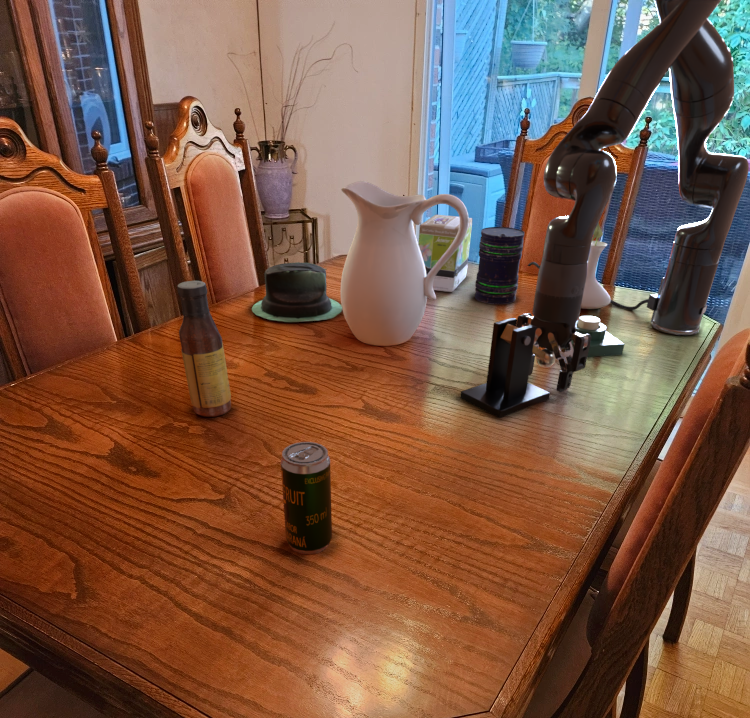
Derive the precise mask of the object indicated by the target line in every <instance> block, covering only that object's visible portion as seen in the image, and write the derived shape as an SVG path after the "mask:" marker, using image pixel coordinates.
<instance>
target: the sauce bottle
mask: <svg viewBox="0 0 750 718" xmlns="http://www.w3.org/2000/svg"><path fill="white" fill-rule="evenodd" d="M176 287H177V294H178V296H179V297H180V302H181V307H182V308H181V309H182V316H183V317H182V323H181V325H180V328H179V330H178V336H179V341H180V347H181V348H180V349H181V351H180V352H181V357H182V361H183V366H184V372H185V377H186V383H187V387H188V388H187V389H188V394H189V398H190V403H191V405H192V409H193V412H194V413H195V414H196V415H198V416H201V417H204V418H214V417H220V416H222V415H225V414H226V413H229V411H230V410H231V409H232V393H231V387H230V386H231V385H230V380H229V374H228V368H227V367H228V366H227V361H226V356H225V347H224V341H223V338H222V335H221V333H220V331H219V329H218V327H217V325H216V322H215V320H214V318H213V316H212V313H211V311H210V307H209V303H208V296H207V295H208V288H207V284H206V282H204V281H201V280H187V281H183V282H180V283H178V284H177V286H176Z"/></svg>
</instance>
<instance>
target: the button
mask: <svg viewBox="0 0 750 718" xmlns="http://www.w3.org/2000/svg"><path fill="white" fill-rule="evenodd" d="M578 320H579V321H578V327H579V328H582V329H588V330H597V329H598V328H599V323H601V319H600V318H599V317H597V316H593V315H581V316H579V318H578Z"/></svg>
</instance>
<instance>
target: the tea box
mask: <svg viewBox="0 0 750 718" xmlns="http://www.w3.org/2000/svg"><path fill="white" fill-rule="evenodd" d="M459 226H460V217H459V216H455V215H445V214H434V215H433V216H431V217H430V218H428V219H426V220H425V221H424V222H421V223H420V224H419V229H418V230H419V232H418V245H419V248H420V251H421V254H422V257H423V261H424V265H425V269H426V275H427V274H428V273H429V272H430V270H431V269H432V268H433V266H434V265H435V264H436V263H437V262H438V260H439V259H440V258H441V257H442V255H443V254H444V253H445V252H446V251H447V249H448V248H449V247H450V245H451V244H452V242H453V241H454V239H455V237H456V235H457V233H458V230H459ZM472 229H473V217H469V224H468V230H467V233H466V236H465V238H464V240H463V241H462V243H461V244H460V246H459V247H458V249H457V250H456V251H455V252H454V254H453V255H452V256H451V257H450V258H449V259H448V260H447V262H446V263H445V264H444V265H443V266H442V267H441V269H440V270H439V271H438V273H437V274H436V276H435V277H434V280H433V290H434V291H439V292H449V293H453V292H454V291H455V289H457V288H458V286H459V285H460V284H461V283H462V282H463V281H464V280H465V279H466V277H467V274H468V273H467V272H468V265H469V257H470V247H471V236H472Z"/></svg>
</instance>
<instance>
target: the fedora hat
mask: <svg viewBox="0 0 750 718" xmlns="http://www.w3.org/2000/svg"><path fill="white" fill-rule="evenodd" d="M327 270H328V269H327V268H325V267H322V266H320V265H318V264H315V263H311V262H299V261H298V262H285V263H279V264H274V265H272V266H270V267H268V268H267V269H266V270H265V271H264V273H263V275H264V285H265V286H264V287H265V296H264V297H263V298H262V299H261V300H259V301H257V302H256V303H254V304H253V305H252V307H251V312H252V313H253V314H254V315H256V316H257V317H261V318H263V319H267V320H269V321H277V322H284V323H299V322H313V321H314V322H315V321H325V320H331V319H334V318H335V317H337V316H338V315H340V314H341V313H342V312H343V310H342V304H341V303H339V302H338V301H337V300H335V299H332V298H330V297H329V296H328V295H327V287H328V286H327Z"/></svg>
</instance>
